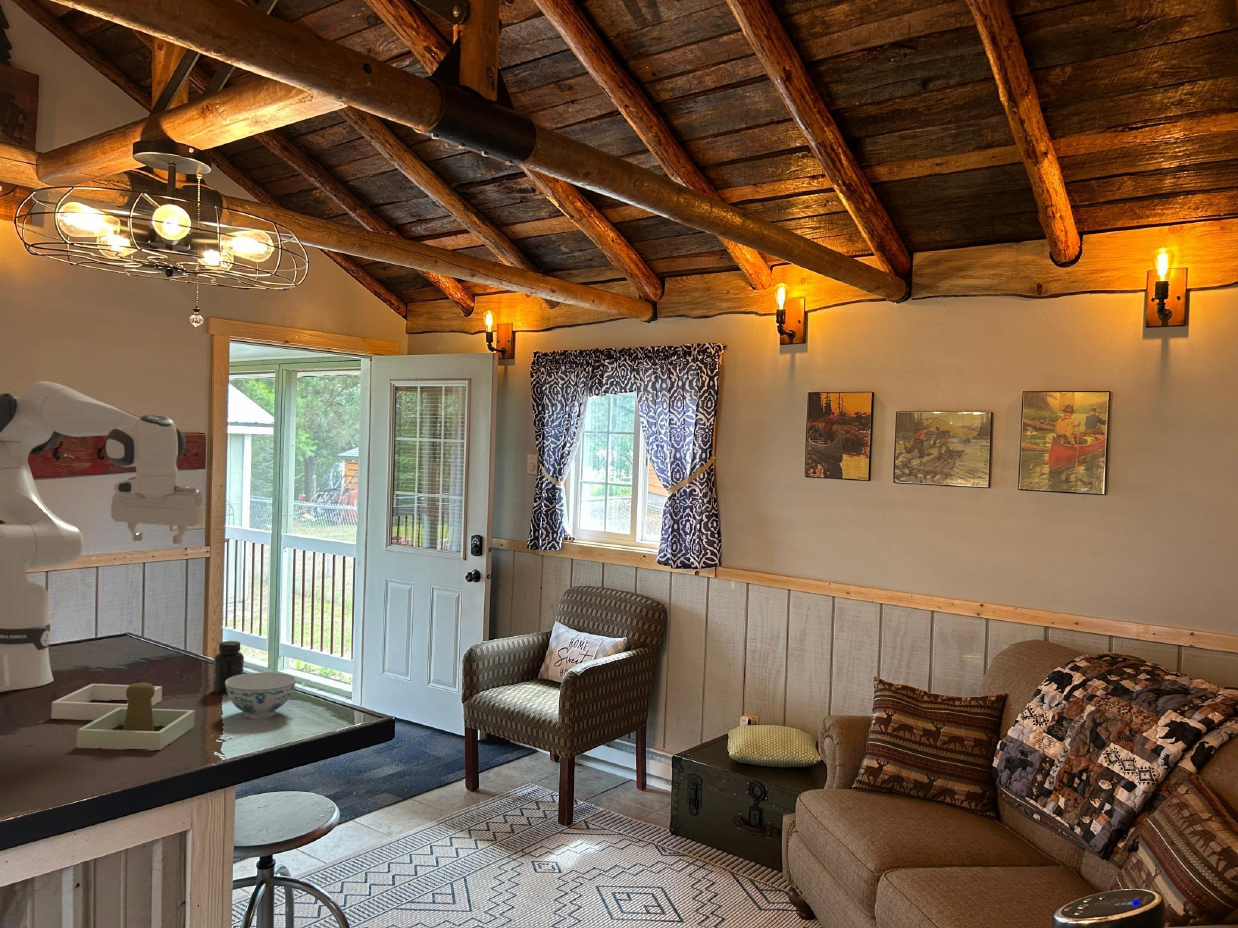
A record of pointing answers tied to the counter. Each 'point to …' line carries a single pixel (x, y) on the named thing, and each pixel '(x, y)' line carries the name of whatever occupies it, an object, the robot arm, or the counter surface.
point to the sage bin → (106, 738)
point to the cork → (139, 707)
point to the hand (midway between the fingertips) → (157, 542)
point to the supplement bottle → (227, 665)
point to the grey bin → (82, 710)
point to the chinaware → (260, 692)
